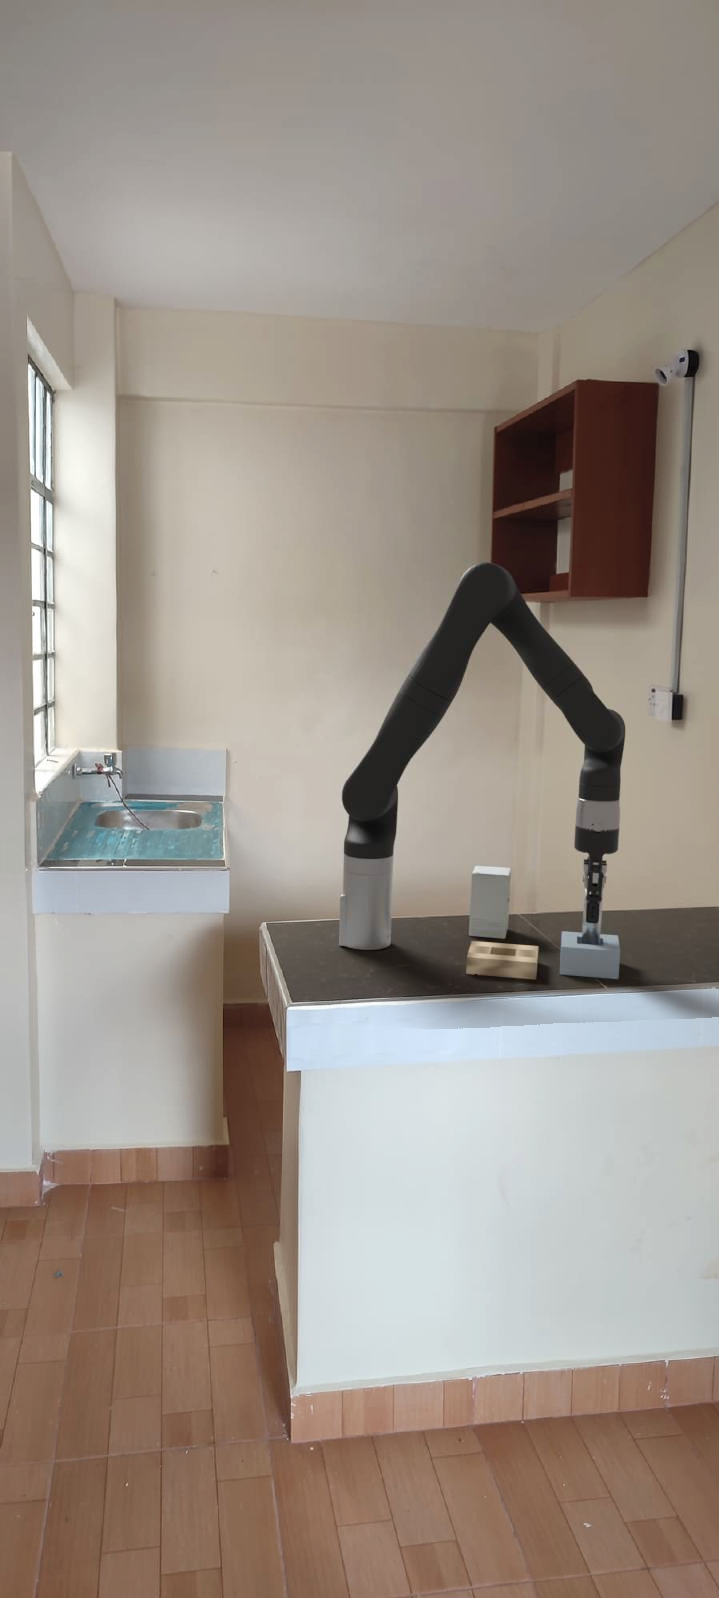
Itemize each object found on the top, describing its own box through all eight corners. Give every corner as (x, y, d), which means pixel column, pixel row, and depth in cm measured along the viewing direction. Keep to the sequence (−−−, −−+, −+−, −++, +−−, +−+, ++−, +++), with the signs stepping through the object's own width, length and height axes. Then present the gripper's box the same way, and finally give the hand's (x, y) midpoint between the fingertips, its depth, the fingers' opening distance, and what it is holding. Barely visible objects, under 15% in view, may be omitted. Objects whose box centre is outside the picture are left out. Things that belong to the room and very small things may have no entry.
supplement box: (506, 939, 219) (509, 875, 216) (467, 936, 220) (470, 872, 218) (508, 929, 226) (512, 867, 224) (471, 926, 227) (474, 864, 225)
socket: (559, 974, 198) (561, 946, 197) (560, 957, 208) (561, 931, 207) (618, 979, 196) (620, 951, 195) (616, 962, 206) (617, 935, 205)
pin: (579, 944, 200) (583, 878, 198) (579, 938, 204) (582, 873, 202) (602, 946, 199) (606, 879, 197) (602, 939, 203) (605, 874, 201)
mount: (466, 973, 197) (466, 957, 196) (471, 956, 207) (471, 941, 206) (535, 979, 195) (536, 962, 194) (537, 962, 205) (538, 946, 204)
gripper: (575, 816, 205) (570, 908, 208) (575, 830, 192) (570, 929, 194) (617, 818, 204) (612, 911, 207) (621, 832, 190) (615, 932, 193)
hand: (591, 919), depth 201 cm, fingers closed on pin, 3 cm apart
